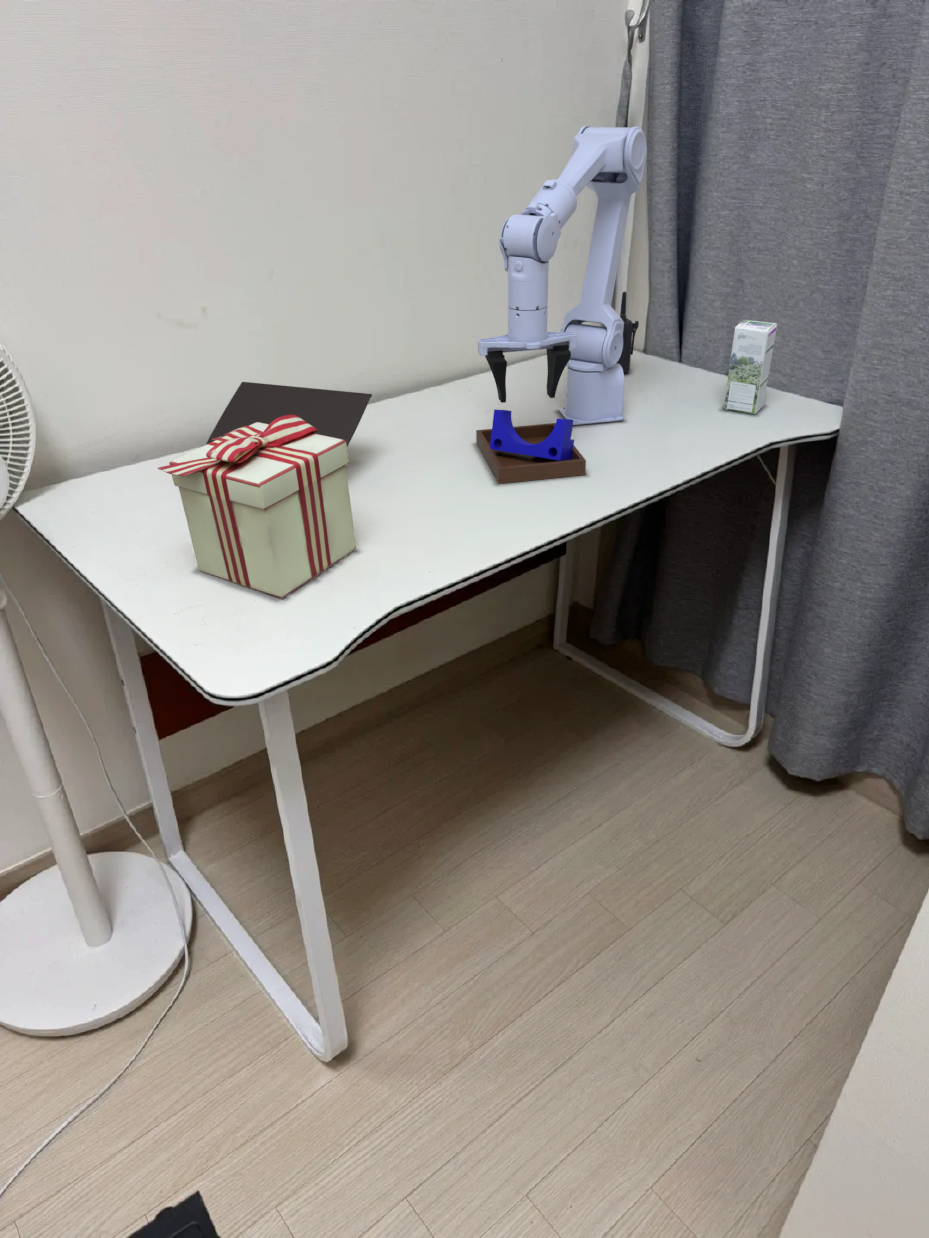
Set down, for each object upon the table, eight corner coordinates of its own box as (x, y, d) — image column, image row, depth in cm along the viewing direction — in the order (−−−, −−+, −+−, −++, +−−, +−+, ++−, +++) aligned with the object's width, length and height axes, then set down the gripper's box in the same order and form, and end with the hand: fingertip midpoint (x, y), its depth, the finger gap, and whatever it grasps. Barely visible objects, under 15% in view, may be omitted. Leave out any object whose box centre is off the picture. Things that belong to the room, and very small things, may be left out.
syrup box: (764, 405, 152) (778, 321, 145) (754, 415, 148) (768, 330, 140) (732, 400, 155) (745, 318, 147) (722, 410, 151) (734, 326, 143)
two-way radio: (611, 367, 174) (616, 289, 166) (633, 367, 173) (640, 289, 165) (612, 375, 169) (618, 296, 161) (635, 375, 169) (642, 296, 161)
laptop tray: (198, 521, 132) (170, 483, 125) (258, 413, 143) (236, 371, 135) (331, 542, 125) (310, 502, 118) (384, 426, 136) (368, 383, 128)
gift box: (252, 519, 119) (231, 398, 110) (364, 546, 112) (351, 418, 102) (164, 575, 107) (131, 443, 97) (283, 609, 99) (260, 470, 90)
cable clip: (571, 459, 132) (577, 419, 131) (560, 460, 129) (566, 420, 127) (502, 448, 138) (507, 409, 136) (489, 448, 134) (494, 409, 132)
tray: (555, 436, 143) (555, 422, 141) (585, 475, 129) (586, 460, 128) (476, 444, 141) (476, 430, 139) (498, 484, 127) (498, 469, 126)
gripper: (484, 316, 119) (485, 411, 127) (584, 308, 121) (580, 402, 129) (474, 305, 125) (476, 396, 133) (570, 297, 127) (566, 387, 135)
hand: (526, 398), depth 131 cm, fingers open, 7 cm apart
